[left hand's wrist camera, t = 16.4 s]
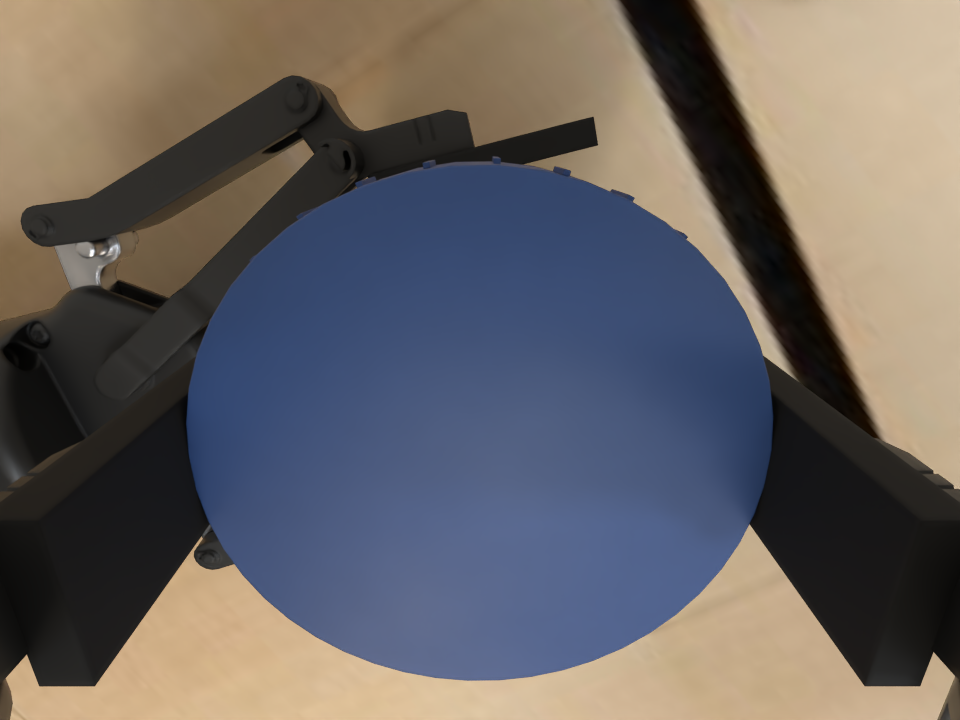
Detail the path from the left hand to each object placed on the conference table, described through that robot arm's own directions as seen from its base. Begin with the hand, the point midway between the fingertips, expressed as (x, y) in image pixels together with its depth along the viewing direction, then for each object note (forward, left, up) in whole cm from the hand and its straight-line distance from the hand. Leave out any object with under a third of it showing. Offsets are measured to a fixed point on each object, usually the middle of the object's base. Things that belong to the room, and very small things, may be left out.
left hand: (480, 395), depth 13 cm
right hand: (-4, -1, -6) cm, 8 cm away
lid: (0, 0, +3) cm, 3 cm away
